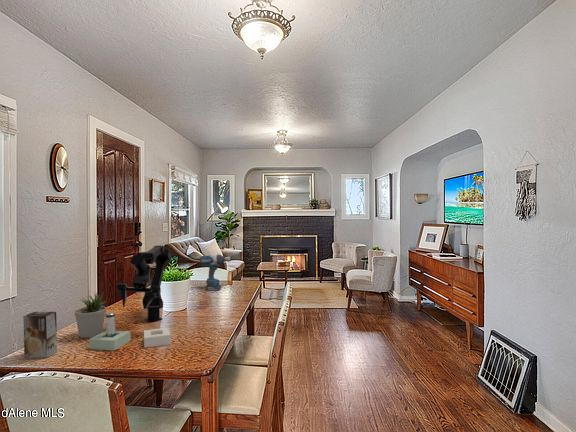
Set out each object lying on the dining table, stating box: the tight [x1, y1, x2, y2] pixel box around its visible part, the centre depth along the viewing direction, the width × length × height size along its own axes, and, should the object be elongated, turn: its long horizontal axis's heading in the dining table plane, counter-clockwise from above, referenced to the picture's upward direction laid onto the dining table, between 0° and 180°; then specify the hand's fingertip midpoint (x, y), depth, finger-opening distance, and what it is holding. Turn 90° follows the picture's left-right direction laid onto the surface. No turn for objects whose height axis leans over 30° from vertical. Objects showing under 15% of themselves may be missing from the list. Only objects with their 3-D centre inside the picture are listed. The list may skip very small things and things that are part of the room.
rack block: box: [88, 330, 132, 351], centre depth 148 cm, size 11×11×4 cm
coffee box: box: [22, 311, 58, 359], centre depth 137 cm, size 9×6×16 cm
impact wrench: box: [198, 253, 232, 292], centre depth 250 cm, size 8×23×25 cm, turn 89°
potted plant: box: [73, 291, 107, 339], centre depth 158 cm, size 13×14×20 cm
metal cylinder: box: [105, 312, 116, 337], centre depth 148 cm, size 4×4×13 cm
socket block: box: [143, 327, 171, 349], centre depth 150 cm, size 10×10×4 cm
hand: (134, 307), depth 156 cm, fingers open, 9 cm apart
